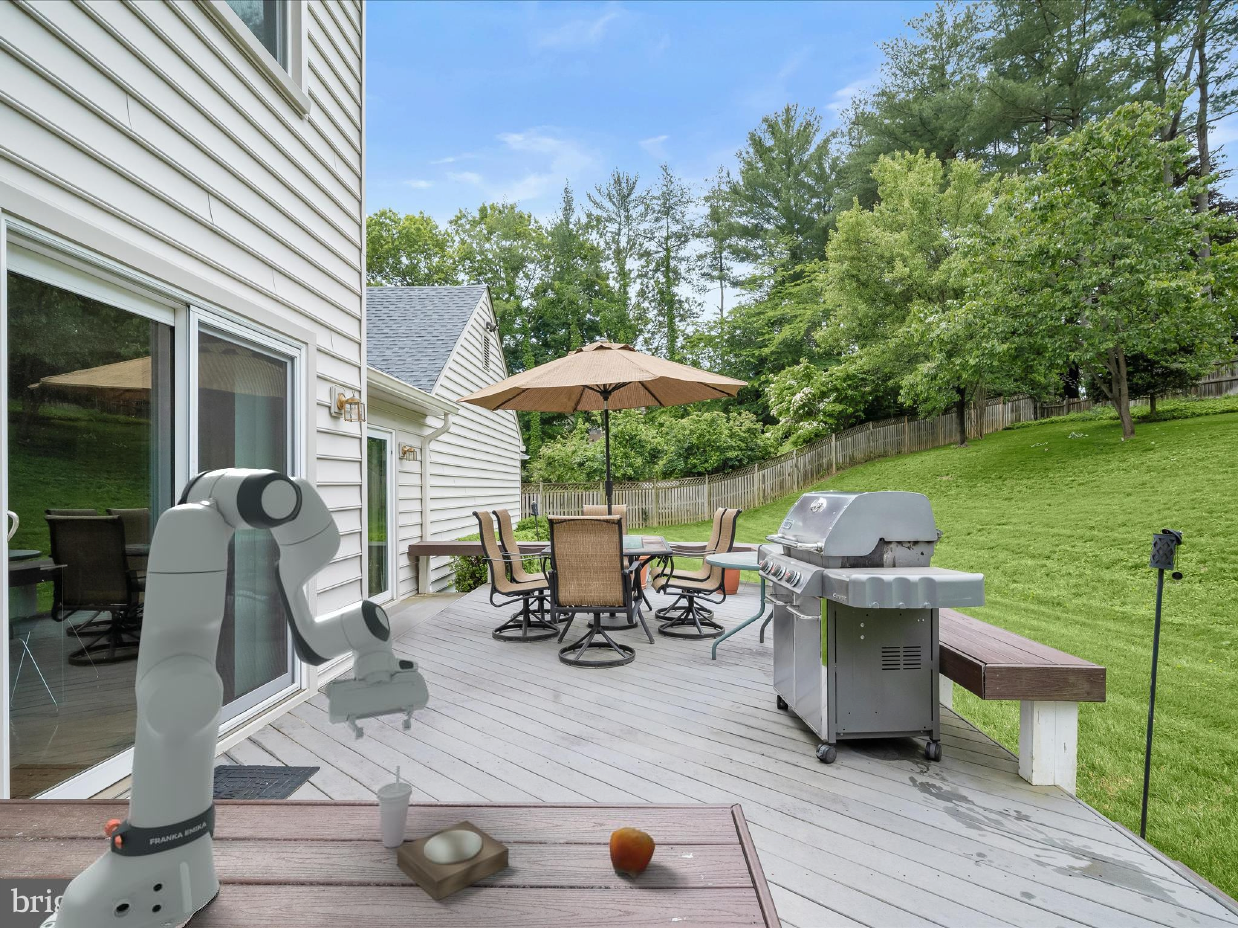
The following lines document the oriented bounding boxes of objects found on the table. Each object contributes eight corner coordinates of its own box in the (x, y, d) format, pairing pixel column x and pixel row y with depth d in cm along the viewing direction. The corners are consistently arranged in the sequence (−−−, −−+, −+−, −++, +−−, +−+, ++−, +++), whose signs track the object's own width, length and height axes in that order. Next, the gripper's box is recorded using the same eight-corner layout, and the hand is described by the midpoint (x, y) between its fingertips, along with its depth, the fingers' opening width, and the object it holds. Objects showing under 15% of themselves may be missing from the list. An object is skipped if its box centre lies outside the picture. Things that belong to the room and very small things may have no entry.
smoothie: (399, 852, 113) (401, 774, 114) (367, 848, 115) (370, 771, 116) (417, 835, 120) (419, 760, 121) (387, 831, 121) (389, 758, 122)
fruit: (597, 873, 105) (606, 820, 109) (611, 876, 111) (619, 826, 115) (642, 884, 102) (650, 829, 106) (654, 886, 108) (661, 834, 112)
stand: (436, 900, 99) (436, 877, 100) (397, 865, 109) (397, 844, 110) (508, 865, 109) (508, 844, 110) (466, 836, 119) (466, 816, 119)
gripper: (326, 672, 129) (330, 735, 120) (424, 660, 140) (435, 717, 131) (322, 689, 133) (326, 751, 124) (419, 676, 144) (429, 732, 135)
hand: (383, 733), depth 128 cm, fingers open, 8 cm apart
